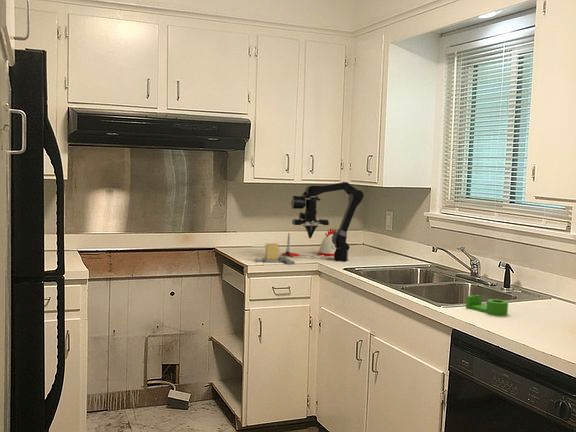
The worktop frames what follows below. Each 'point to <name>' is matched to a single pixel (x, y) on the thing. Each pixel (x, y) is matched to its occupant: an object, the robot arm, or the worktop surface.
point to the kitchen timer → (327, 245)
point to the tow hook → (288, 249)
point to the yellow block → (271, 251)
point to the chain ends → (281, 260)
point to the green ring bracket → (492, 305)
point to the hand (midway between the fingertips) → (309, 238)
